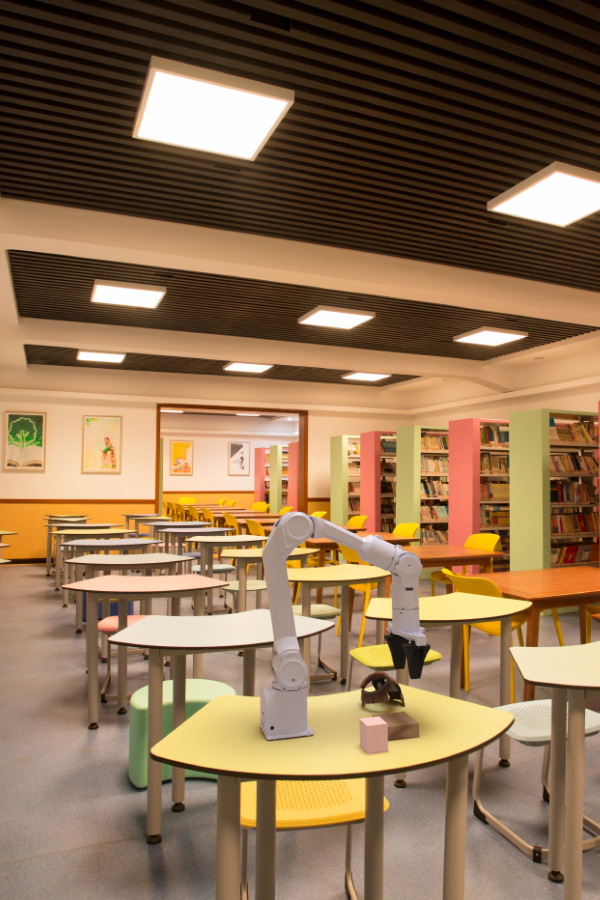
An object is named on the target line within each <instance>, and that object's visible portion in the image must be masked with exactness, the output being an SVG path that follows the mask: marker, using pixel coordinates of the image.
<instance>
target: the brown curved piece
mask: <svg viewBox="0 0 600 900" xmlns="http://www.w3.org/2000/svg"><path fill="white" fill-rule="evenodd" d="M370 683H371V685H372V686H373V688H374V690H373V691H368V690H365V689H366V687H367V686H368V685H369V684H370ZM359 687H360V688H361V689H360V693H361V694H360V701H361V704H362V706H363V707H365V706H366V705H369V704H370V705H375V704H376V703H380V702H382V701H393V700H397V701H401V704H402V706H403V707H405V706H406V703H405V698H404V695H403V693H402V692H403V691H402V688H401V686H400V684H399V683H398V681H397V680H396V679H395V678H393V677H392V676H390V675H389V674H388V673H387V672H385V671H375V672H373V673H370V674H368V675H367V676H366V677H365V678H364V679H363V680H362V681H361V683H360V686H359Z"/></svg>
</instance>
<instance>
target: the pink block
mask: <svg viewBox="0 0 600 900" xmlns="http://www.w3.org/2000/svg"><path fill="white" fill-rule="evenodd" d="M358 721H359V747H361V749H363V751H364V752H365V753H366V754H367V755H372V754H373V755H374V754H380V753H381V754H382V753H387V752H389V741H388V729H387V723H386V722H385V721H384V720H383V719H381V718H380V717H379V716H378V717H370V716H369V717H361V718H359V720H358Z"/></svg>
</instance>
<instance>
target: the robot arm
mask: <svg viewBox="0 0 600 900" xmlns="http://www.w3.org/2000/svg"><path fill="white" fill-rule="evenodd" d="M324 538H325V539H327V540H328V541H329V540H330V541H332V542H334V543H336V544H339V545H341V546H344V547H347V548H349V549H351V550H353V551H355V552H357V555H358V557H359V559H360V561H363V562H365V563H367V564H369V565H372V566H374V567H377V568H378V569H380V570H383V571H386V572H389V573H390V575H391V619H392V620H391V621H392V622H388V623H387V631H388V633H389V634H385V635H384V636H383V638H384V640H385V642H386V644H387V647H388V649H389V652H390V656H391V660H392V664H393V668H394V669H395V670H405V668H406V662H407V668H408V669H407V670H408V676H409V679H411V680H418V679H419V680H420V679H422V678H421V677H422V673H423V670H424V664H425V662H426V661H425V660H426V658H427V655H428V653H429V652H430V651H431V644H429V643H427V635H425V634H424V633H425V632H426V631H425V630H426V629H425V627H422V626H420V625H421V624H420V591H419V590H420V587H419V577H420V575H421V573H422V572H423V567H424V566H423V564H422V562H421V559H420V558H419V557H418V555H417V554H416V553H414V552H411V551H408V550H404V549H402V548H403V546H402V545H401V544H400V545H399V544H396V545H395V544H392V543H390V542H387V541H386V540H384V539H383V536H382V535H379V534H374V535H372V534H369V535H366V536H365V537H362V536H360V535H357V534H355V533H354V532H352V531H350V530H348V529H345V528H343V527H341V526H339V525H338V524H335V523H333V522H331V521H329V520H327V519H325V518H322V517H321V518H320V517H318V516H314V515H308V514H307V513H305V512H301V511H287V512H286V513H284V514H283V515H281V516H280V517H279V518H278V519H277V520H276V522H274V524H273V526H272V529H271V531H270V533H269V535H268V537H267V540H266V542H265V545H264V546H263V549H262V551H261V557H262V564H263V571H264V578H265V579H264V580H265V585H266V592H267V599H268V607H269V614H270V615H269V616H270V621H271V627H272V634H273V655H272V658H271V667H272V669H273V672H274V673H275V676H274V678H273V679H272V681H271V685H269V686H267V687H265V686H264V687H262V688H261V689H260V693H259V695H260V697H259V699H260V700H259V701H260V702H259V703H260V704H259V705H260V714H259V715H260V717H259V718H260V723H259V727H260V729H261V731H262V732H263V735H264V737H265V739H266V740H267V741H272V740H280V739H287V738H291V739H292V738H297V737H298V738H299V737H307V736H314V735H315V734H314V731H313V729H312V728H311V727H310V725H309V724H308V681H307V678H308V675H309V670H308V665H307V664H306V662H305V661H304V660H303V658H302V654H301V648H300V644H299V642H298V637H297V631H296V630H297V629H296V625H295V616H294V610H293V603H292V596H291V590H290V589H291V588H290V583H289V581H290V580H289V574H288V570H287V569H288V568H287V562H286V561H287V559H288V557H290V555H291V554H292V553H293V551H295V549H296V548H297V547H299V546H300V545H302V544H303V543H305V542H306V541H308V540H309V539H313V540H316V539H317V540H318V539H324ZM409 641H410V642H409Z"/></svg>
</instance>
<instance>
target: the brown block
mask: <svg viewBox="0 0 600 900" xmlns="http://www.w3.org/2000/svg"><path fill="white" fill-rule="evenodd" d="M378 716H379V717H380V718H381V719H383V720H384V721H385V722H386V723H387V729H388V742H394V741H401V740H410V739H419V738H420V723H419V722H418V721H417V720H416V719H414V718H413V717H412V716H410V715H409V714H408V713H407V712H406V711H397V712H396V711H395V712H388V713H378V714H376V713H375V714H372V717H378Z"/></svg>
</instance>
